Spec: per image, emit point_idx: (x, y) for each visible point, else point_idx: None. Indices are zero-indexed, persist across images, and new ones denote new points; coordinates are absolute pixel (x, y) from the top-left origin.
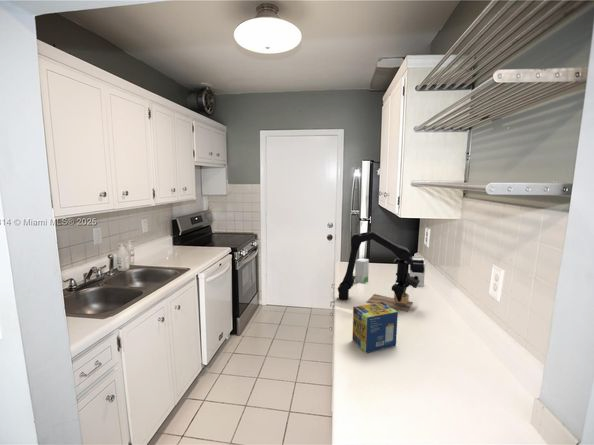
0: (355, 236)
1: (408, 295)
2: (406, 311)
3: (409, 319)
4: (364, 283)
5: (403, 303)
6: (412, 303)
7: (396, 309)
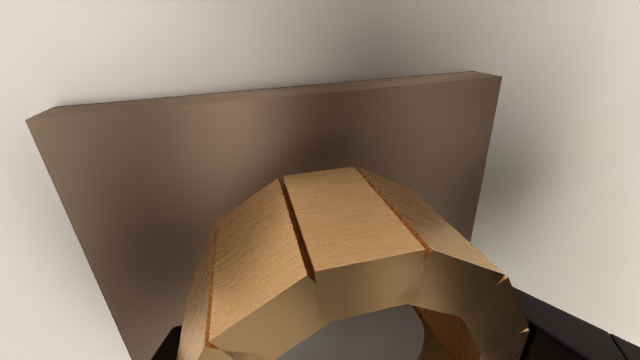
0: None
1: (348, 269)
2: (489, 95)
3: (589, 5)
4: None
5: None
6: (104, 116)
7: (473, 216)
